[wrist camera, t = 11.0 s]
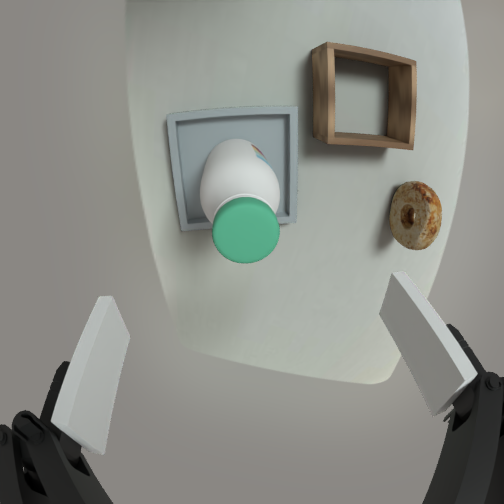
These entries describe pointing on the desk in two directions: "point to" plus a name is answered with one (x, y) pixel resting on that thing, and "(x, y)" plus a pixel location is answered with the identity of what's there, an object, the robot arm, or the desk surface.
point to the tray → (224, 128)
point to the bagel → (426, 215)
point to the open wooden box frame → (398, 99)
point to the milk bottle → (241, 201)
